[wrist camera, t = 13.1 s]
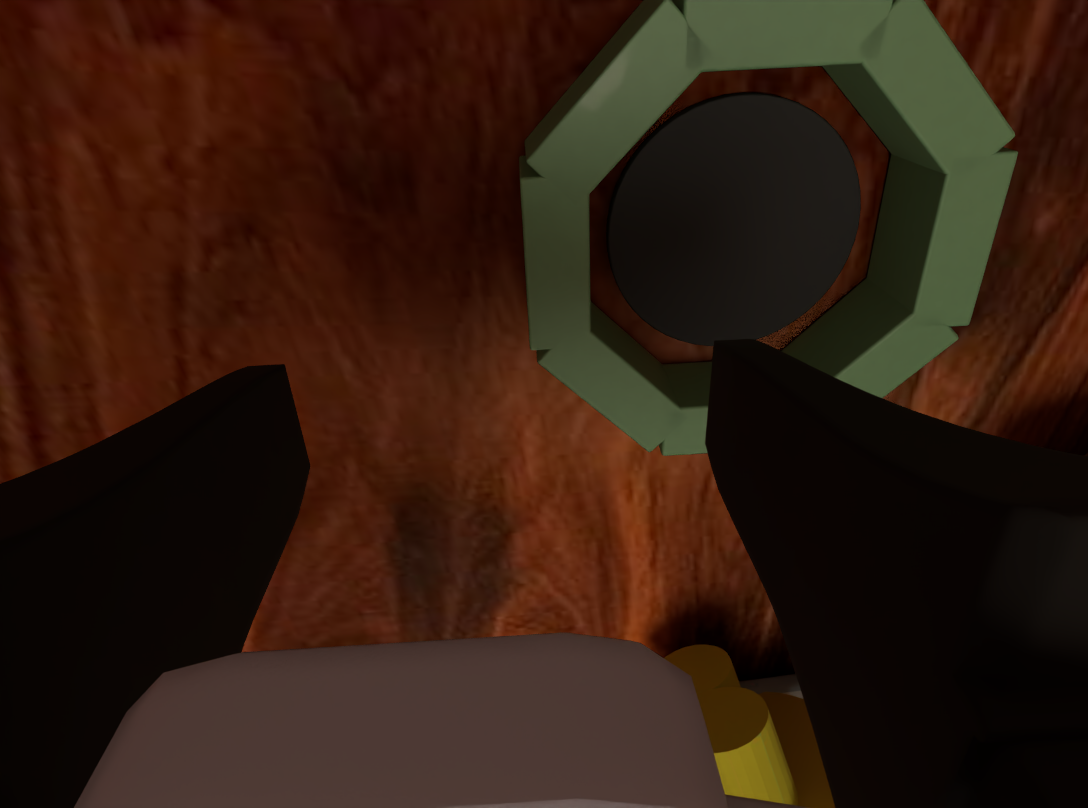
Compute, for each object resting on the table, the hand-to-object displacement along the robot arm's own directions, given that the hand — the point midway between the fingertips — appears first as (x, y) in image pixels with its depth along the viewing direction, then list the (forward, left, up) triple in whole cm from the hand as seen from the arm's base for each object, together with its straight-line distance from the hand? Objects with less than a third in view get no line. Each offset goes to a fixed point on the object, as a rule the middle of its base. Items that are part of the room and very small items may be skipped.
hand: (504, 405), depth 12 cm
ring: (+5, -4, -9) cm, 11 cm away
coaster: (+5, -4, -9) cm, 11 cm away
